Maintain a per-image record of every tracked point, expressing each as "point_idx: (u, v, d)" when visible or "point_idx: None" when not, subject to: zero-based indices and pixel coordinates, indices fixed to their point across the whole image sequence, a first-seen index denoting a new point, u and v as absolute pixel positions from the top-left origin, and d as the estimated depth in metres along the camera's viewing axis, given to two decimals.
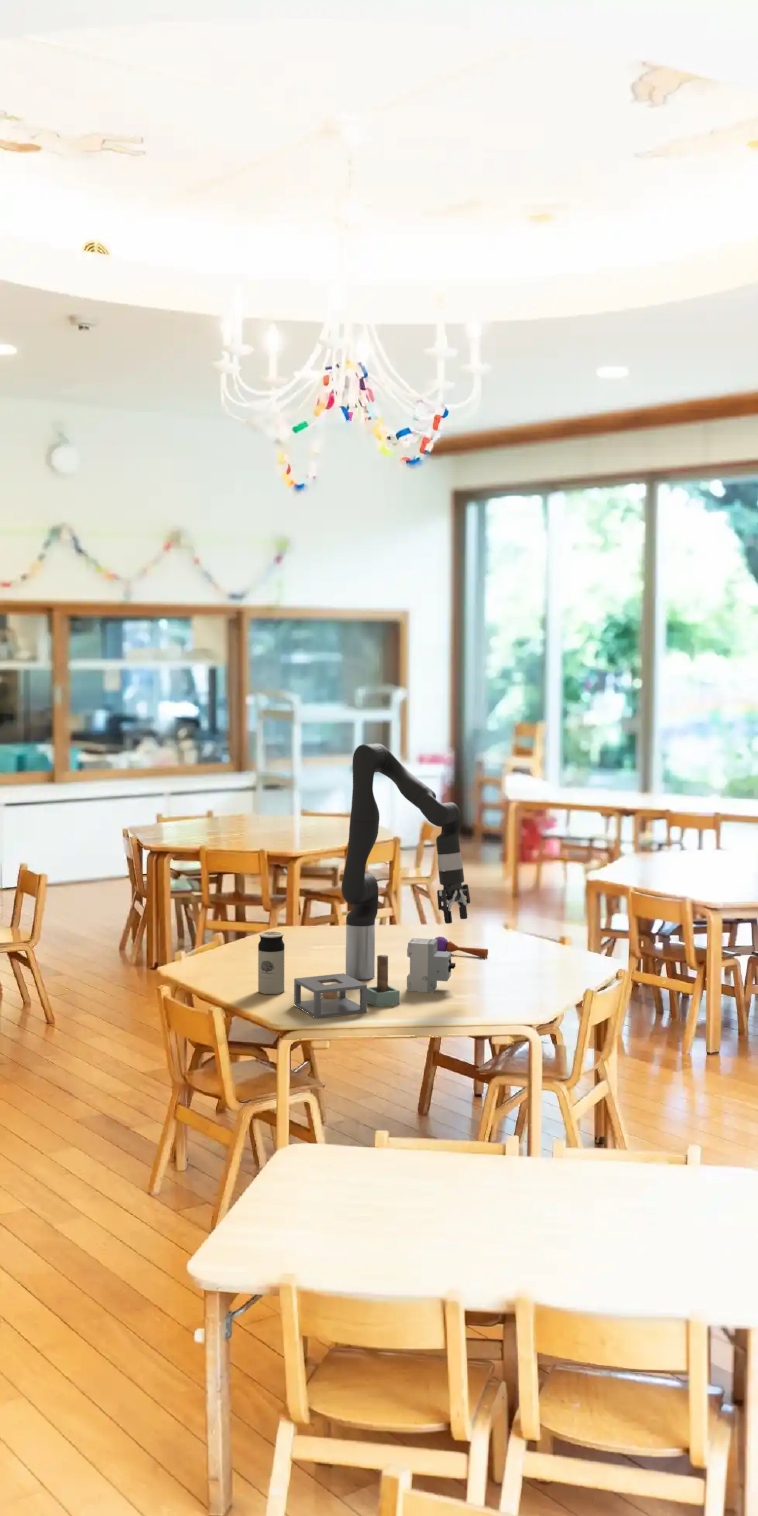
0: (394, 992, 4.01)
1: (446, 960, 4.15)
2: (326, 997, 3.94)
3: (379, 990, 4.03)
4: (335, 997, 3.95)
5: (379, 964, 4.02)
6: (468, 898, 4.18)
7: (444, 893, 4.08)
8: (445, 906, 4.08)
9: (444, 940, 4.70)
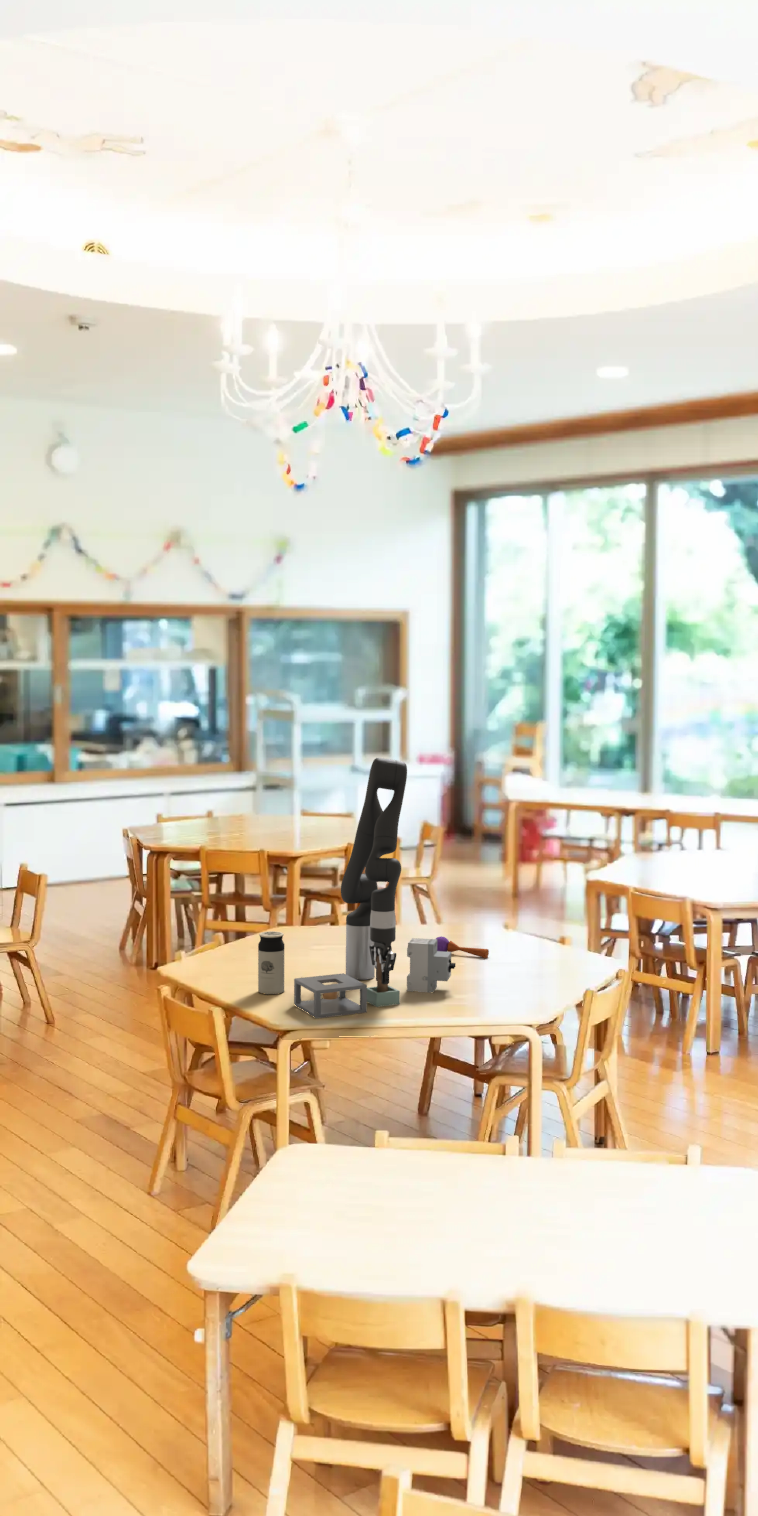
0: (394, 992, 4.01)
1: (446, 960, 4.15)
2: (326, 997, 3.94)
3: (379, 990, 4.03)
4: (335, 997, 3.95)
5: (379, 964, 4.02)
6: (385, 966, 3.99)
7: (370, 949, 4.08)
8: (372, 961, 4.07)
9: (445, 940, 4.71)
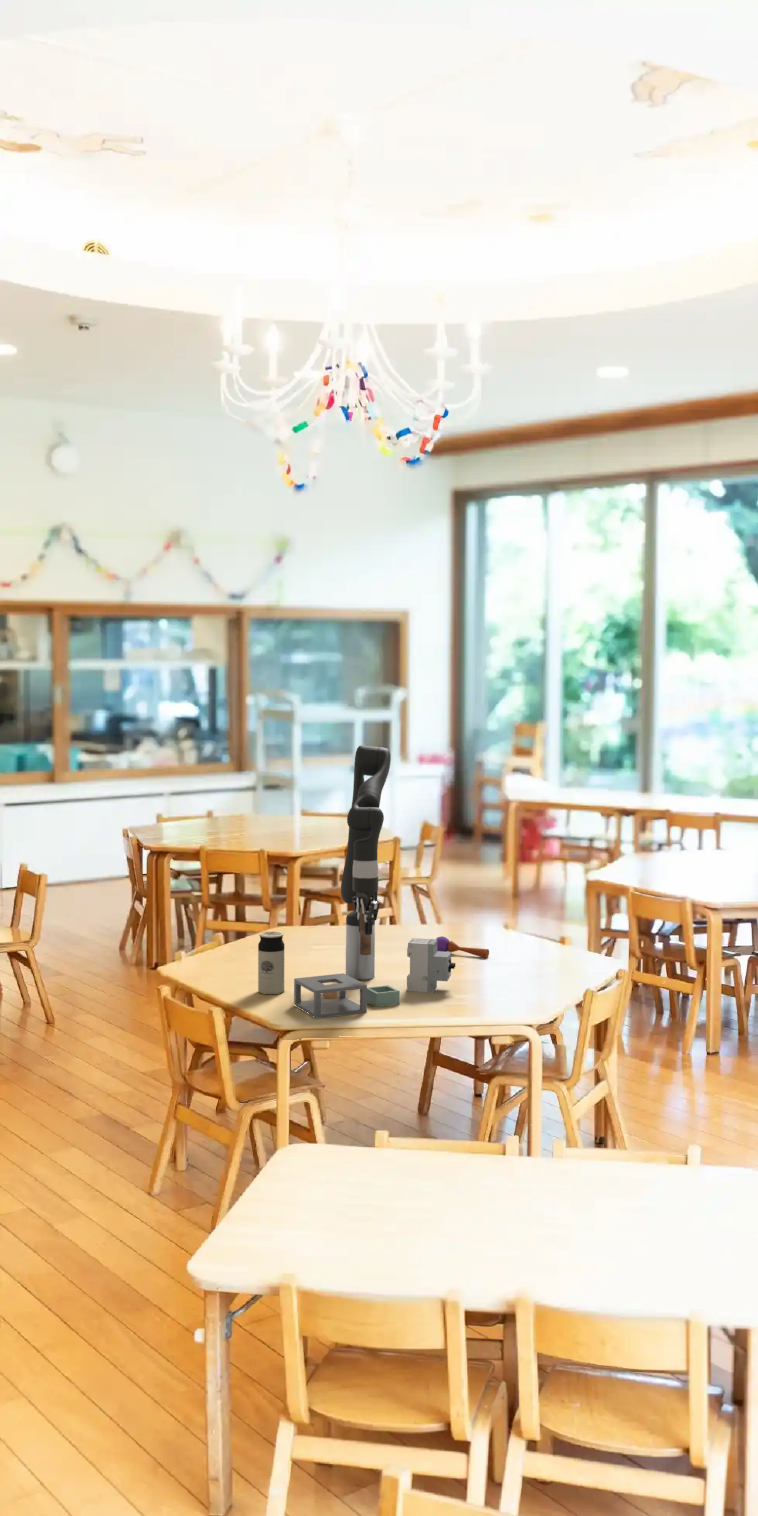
0: (394, 992, 4.01)
1: (446, 960, 4.15)
2: (326, 997, 3.94)
3: (362, 941, 3.98)
4: (335, 997, 3.95)
5: (362, 915, 3.98)
6: (368, 916, 3.95)
7: (352, 900, 4.04)
8: (355, 913, 4.02)
9: (445, 940, 4.71)
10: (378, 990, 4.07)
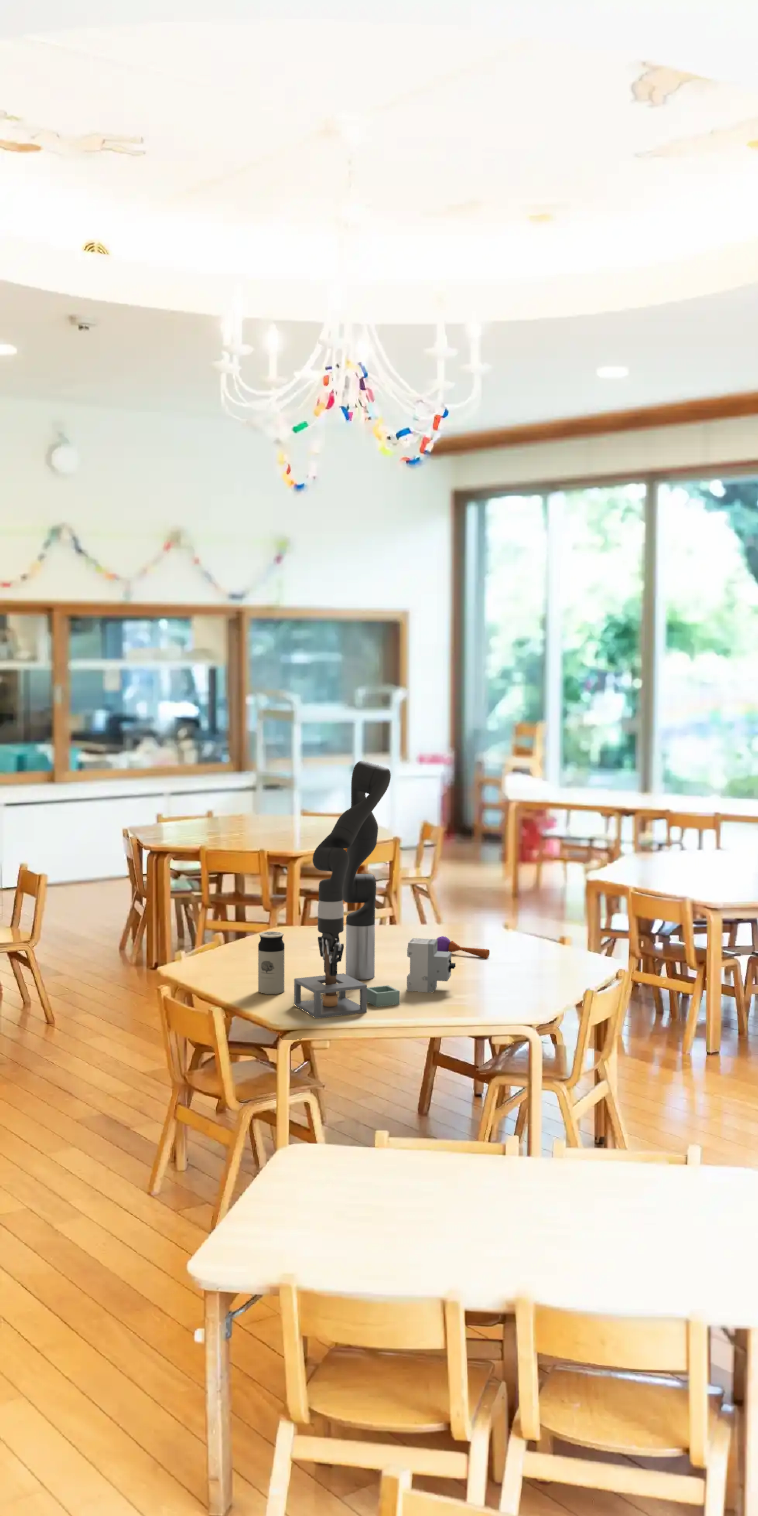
0: (394, 992, 4.01)
1: (446, 960, 4.15)
2: (326, 1004, 3.95)
3: (327, 982, 3.95)
4: (335, 1004, 3.95)
5: (327, 956, 3.94)
6: (333, 957, 3.91)
7: (318, 940, 4.00)
8: (320, 953, 3.99)
9: (446, 940, 4.71)
10: (378, 990, 4.07)
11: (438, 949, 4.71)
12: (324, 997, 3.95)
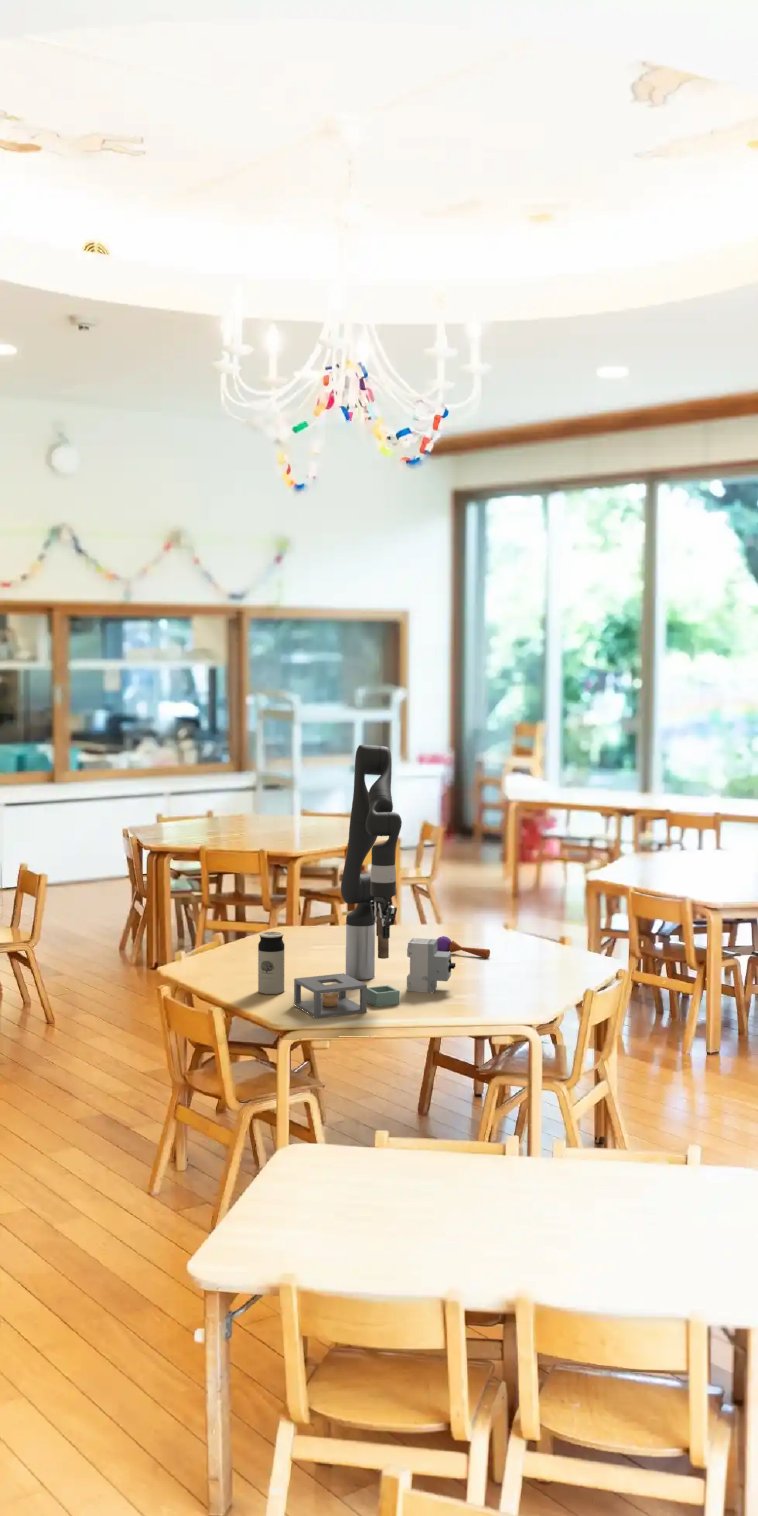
0: (394, 992, 4.01)
1: (446, 960, 4.15)
2: (326, 1004, 3.95)
3: (380, 945, 4.02)
4: (335, 1004, 3.95)
5: (380, 919, 4.01)
6: (386, 920, 3.98)
7: (370, 904, 4.07)
8: (373, 916, 4.06)
9: (447, 940, 4.71)
10: (378, 990, 4.07)
11: (439, 949, 4.71)
12: (324, 997, 3.95)
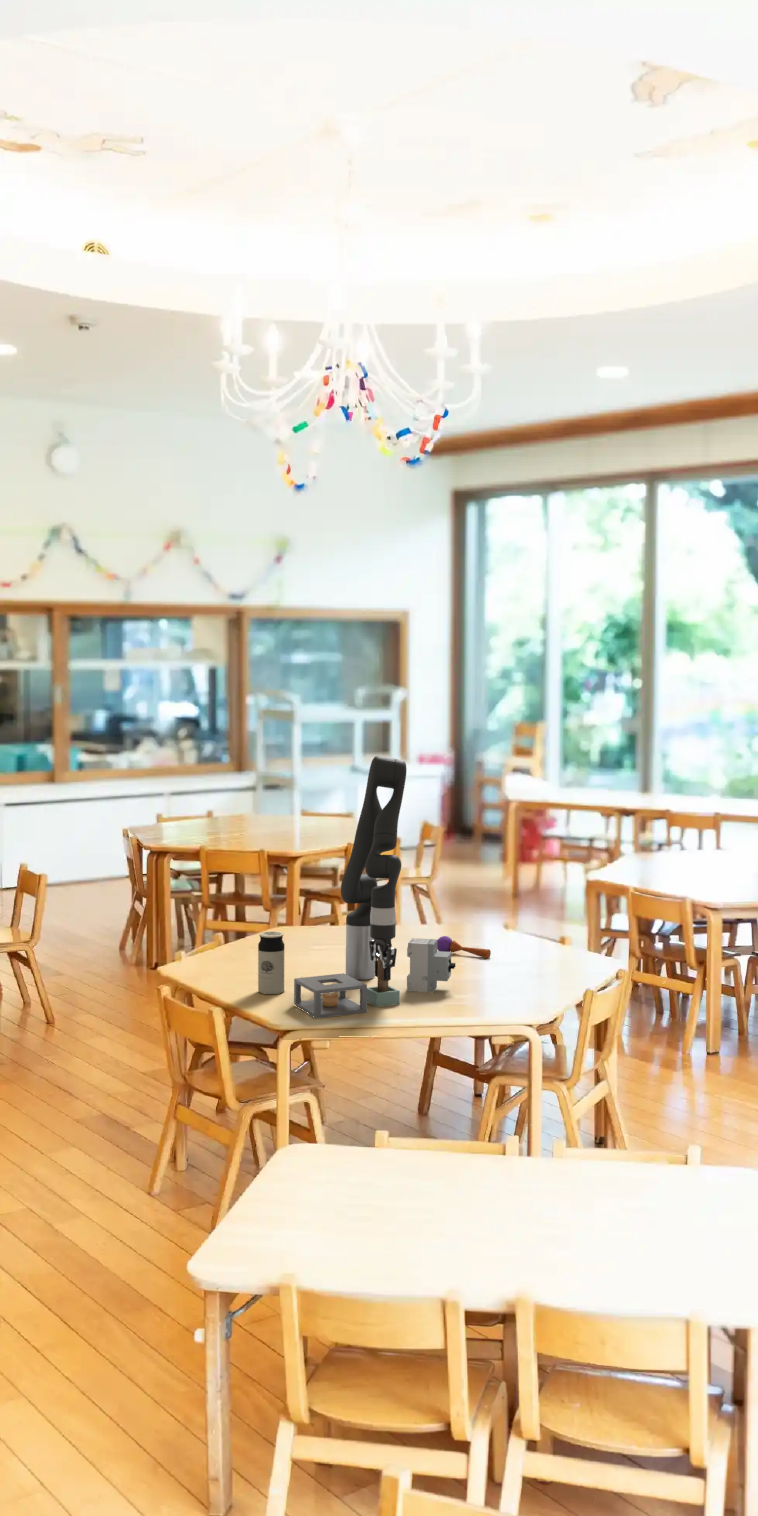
0: (394, 992, 4.01)
1: (446, 960, 4.15)
2: (326, 1004, 3.95)
3: (380, 990, 4.03)
4: (335, 1004, 3.95)
5: (380, 964, 4.02)
6: (386, 962, 3.98)
7: (369, 944, 4.08)
8: (371, 957, 4.07)
9: (448, 940, 4.71)
10: None
11: (440, 949, 4.71)
12: (324, 997, 3.95)
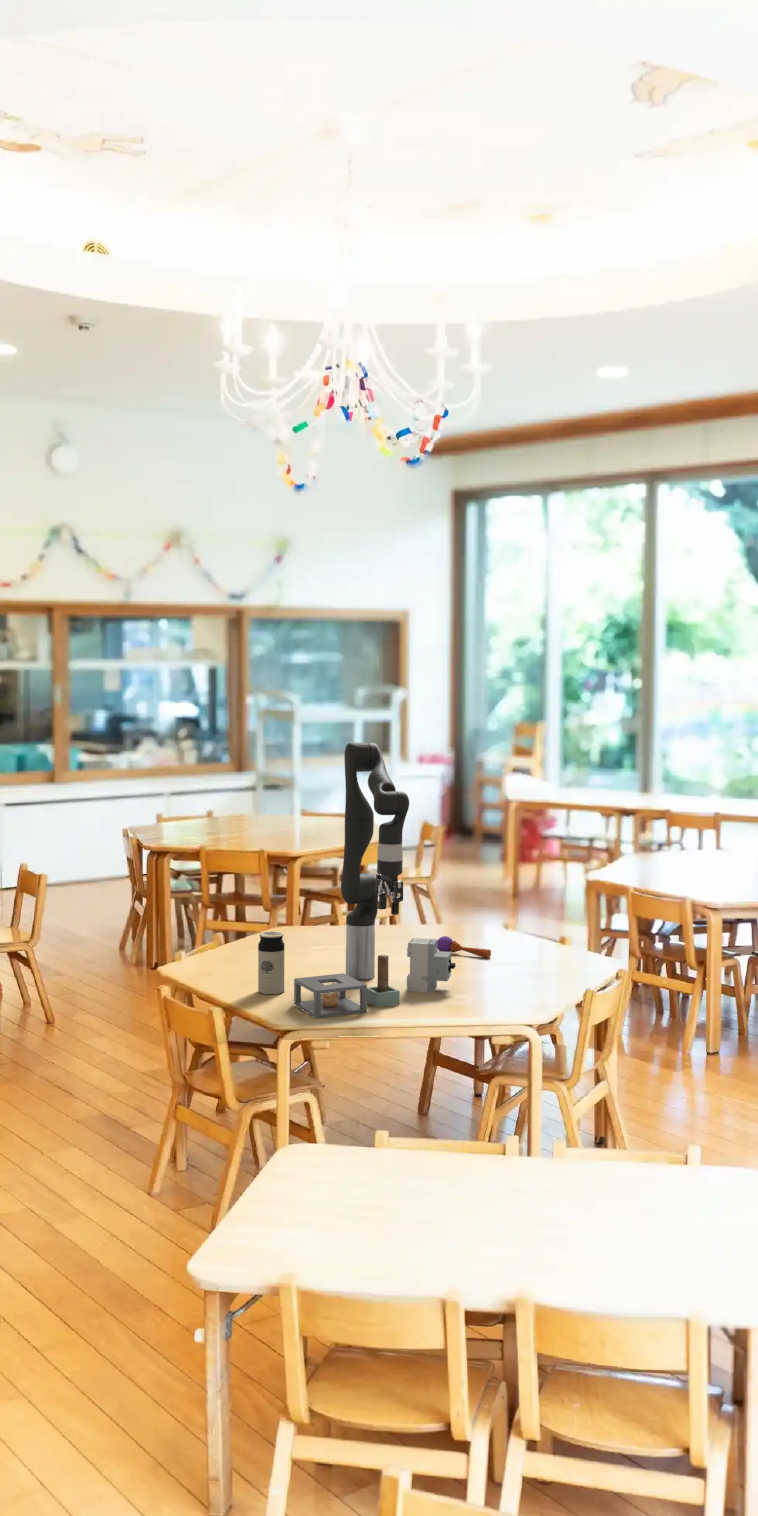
0: (394, 992, 4.01)
1: (446, 960, 4.15)
2: (326, 1004, 3.95)
3: (379, 990, 4.03)
4: (335, 1004, 3.95)
5: (380, 964, 4.02)
6: (394, 896, 3.99)
7: (376, 877, 4.10)
8: (375, 890, 4.11)
9: (448, 940, 4.71)
10: None
11: (440, 949, 4.71)
12: (324, 997, 3.95)
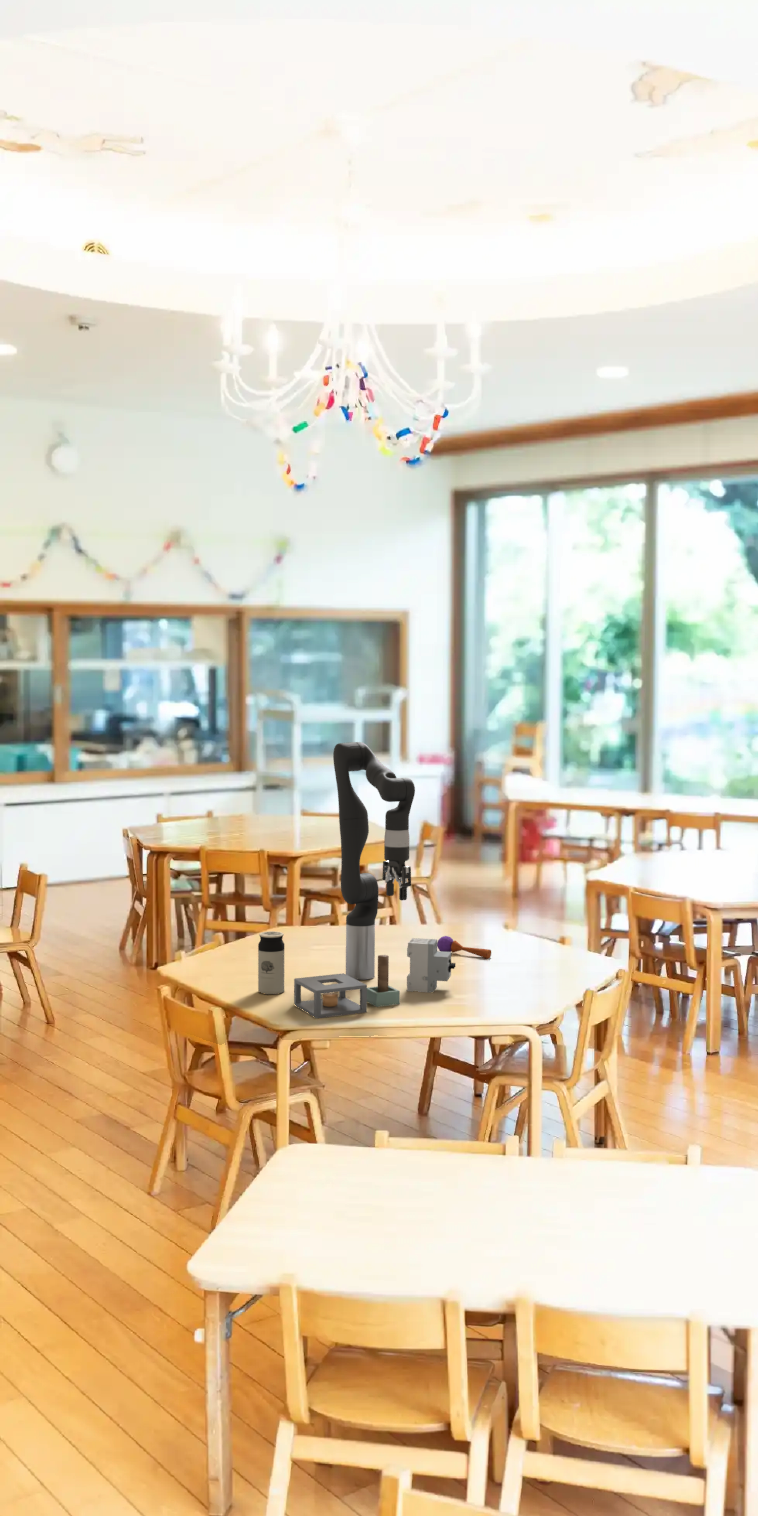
0: (394, 992, 4.01)
1: (446, 960, 4.15)
2: (326, 1004, 3.95)
3: (380, 990, 4.03)
4: (335, 1004, 3.95)
5: (380, 964, 4.02)
6: (402, 881, 4.03)
7: (383, 864, 4.14)
8: (383, 876, 4.15)
9: (449, 939, 4.71)
10: None
11: (441, 949, 4.71)
12: (324, 997, 3.95)
